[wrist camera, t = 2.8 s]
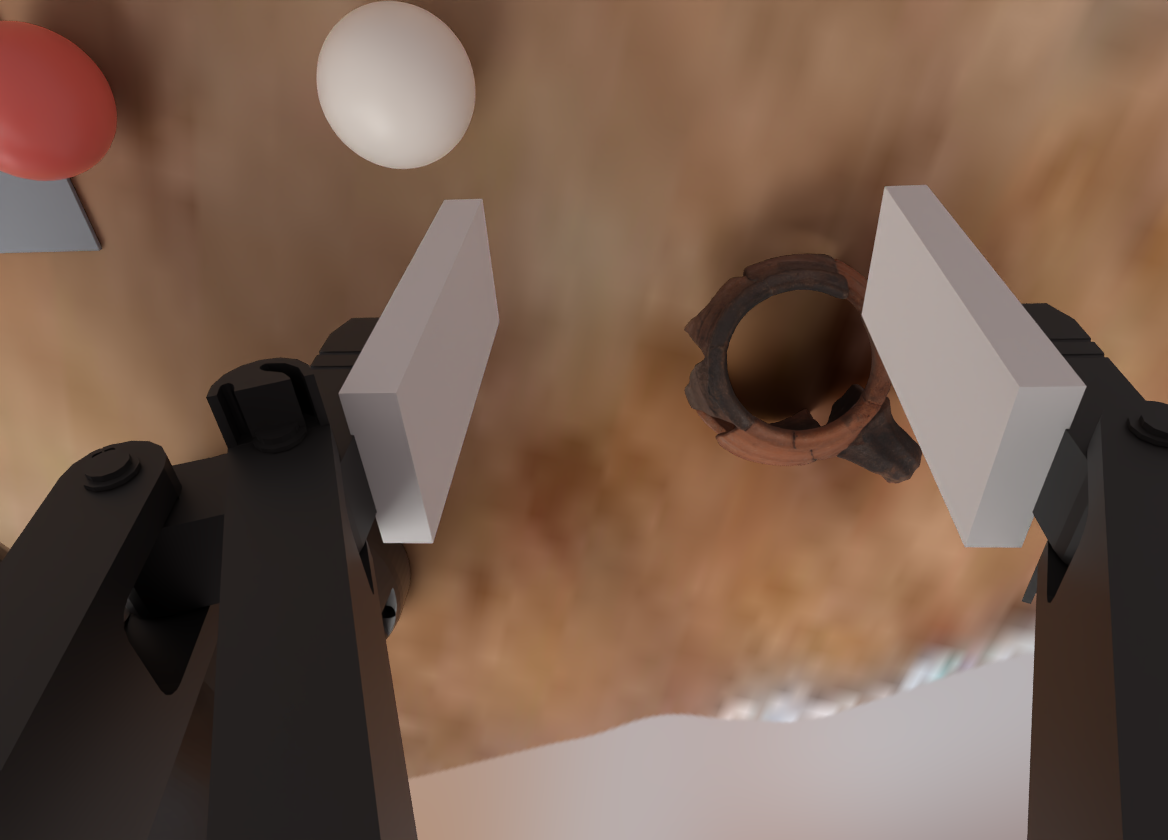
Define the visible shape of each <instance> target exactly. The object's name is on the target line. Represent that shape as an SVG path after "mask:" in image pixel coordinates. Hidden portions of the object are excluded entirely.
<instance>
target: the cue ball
mask: <svg viewBox="0 0 1168 840" xmlns="http://www.w3.org/2000/svg"><path fill="white" fill-rule="evenodd" d="M316 78H317V91H318V96H319V101H320V104H321V107H322V110H323V112H324V114H325V117H326V119H327V121H328V122H329V124H330V126H331V128H332V129H333V130H334V132H335V133H336V134H337V136H338V137H339V138H340V139H341V140H342V141H343V143H344V144H345V145H347V146H348V147H349V148H350V149H351V150H352V151H354V152H355V153H356V154H358V155H359V156H361V157H363V158H364V159H366V160H368V161H370V162H372V163H375V164H377V165H380V166H384V167H388V168H394V169H411V168H418V167H422V166H426V165H428V164H431V163H433V162H435V161H437V160H439V159H441V158H442V157H444V156H445V155H447V154H448V153H449V152H450V151H451V150H452V149H453V148H454V147H455V146H456V145H457V144H458V143H459V142H460V140H461V139H462V137H463V136H464V134H465V133H466V130H467V128H468V126H469V124H470V121H471V118H472V115H473V111H474V106H475V94H476V92H475V79H474V74H473V69H472V66H471V63H470V60H469V57H468V55H467V53H466V51H465V49H464V47H463V45H462V44H461V42H460V40H459V39H458V38H457V36H456V35H455V34H454V33H453V31H452V30H451V29H450V28H449V27H448V26H447V25H446V24H445V23H444V22H443V21H441V20H440V19H439V18H438V17H436V16H435V15H433V14H432V13H430V12H429V11H427V10H425V9H422V8H420V7H418V6H415V5H412V4H409V3H404V2H398V1H378V2H373V3H369V4H366V5H363V6H360V7H358V8H356V9H354V10H352V11H351V12H349V13H348V14H346V15H345V16H344V17H343V18H342V19H341V20H340V21H339V22H338V23H337V24H336V25H335V26H334V27H333V28H332V30H331V31H330V32H329V34H328V36H327V37H326V39H325V41H324V43H323V46H322V48H321V51H320V54H319V58H318V63H317V75H316Z"/></svg>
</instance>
